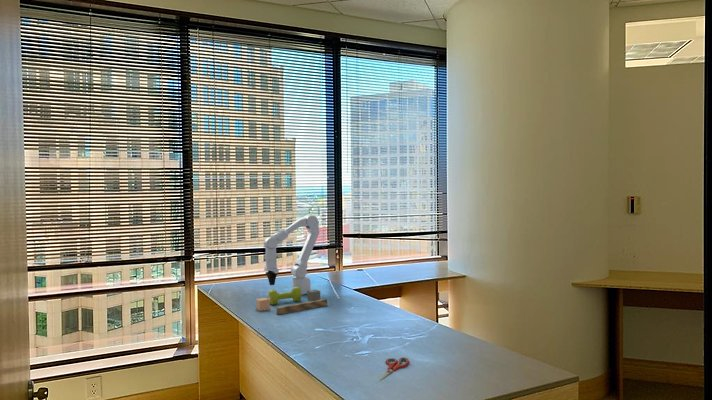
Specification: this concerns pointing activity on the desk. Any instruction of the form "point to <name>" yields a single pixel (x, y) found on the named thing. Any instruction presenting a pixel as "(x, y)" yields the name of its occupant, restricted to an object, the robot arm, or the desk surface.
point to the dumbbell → (284, 295)
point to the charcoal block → (313, 295)
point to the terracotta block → (262, 304)
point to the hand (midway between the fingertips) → (272, 285)
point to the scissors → (394, 366)
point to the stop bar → (301, 306)
